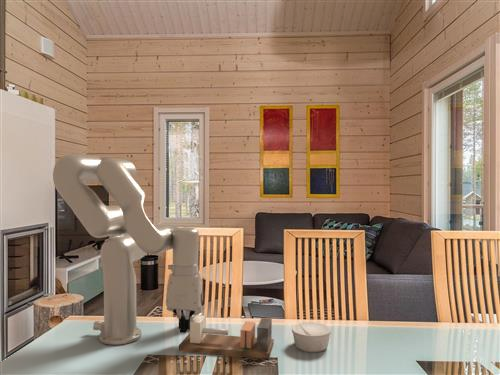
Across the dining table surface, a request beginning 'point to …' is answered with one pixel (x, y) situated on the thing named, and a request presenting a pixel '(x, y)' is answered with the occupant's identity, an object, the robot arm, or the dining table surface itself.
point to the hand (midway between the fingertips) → (184, 331)
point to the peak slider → (247, 335)
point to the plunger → (202, 329)
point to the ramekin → (311, 336)
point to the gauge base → (234, 343)
